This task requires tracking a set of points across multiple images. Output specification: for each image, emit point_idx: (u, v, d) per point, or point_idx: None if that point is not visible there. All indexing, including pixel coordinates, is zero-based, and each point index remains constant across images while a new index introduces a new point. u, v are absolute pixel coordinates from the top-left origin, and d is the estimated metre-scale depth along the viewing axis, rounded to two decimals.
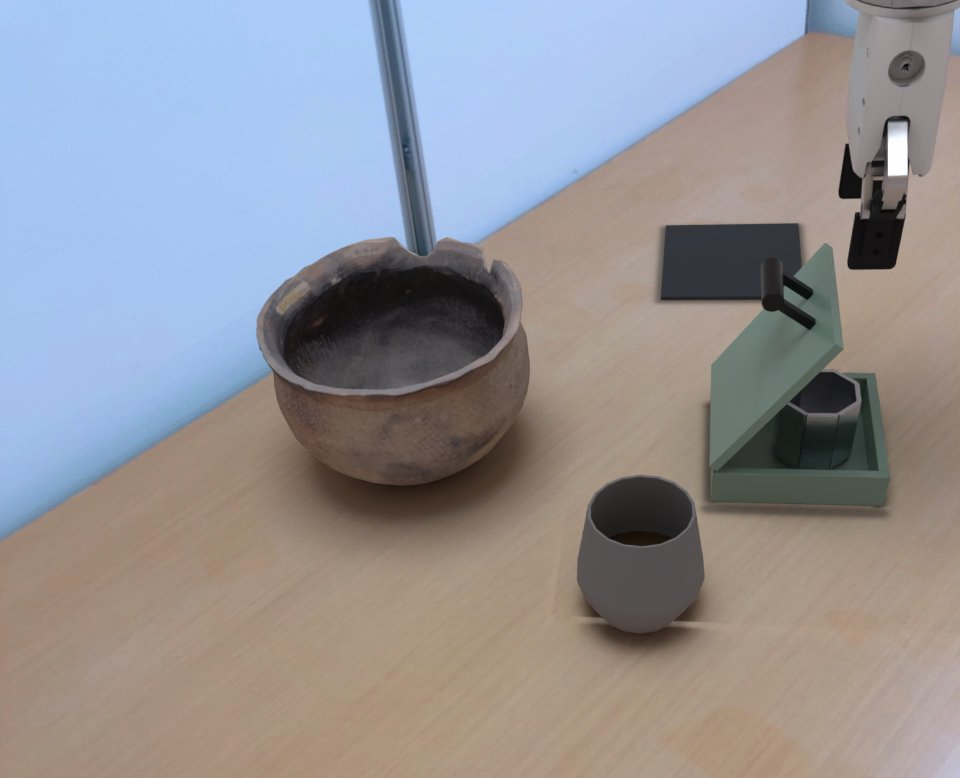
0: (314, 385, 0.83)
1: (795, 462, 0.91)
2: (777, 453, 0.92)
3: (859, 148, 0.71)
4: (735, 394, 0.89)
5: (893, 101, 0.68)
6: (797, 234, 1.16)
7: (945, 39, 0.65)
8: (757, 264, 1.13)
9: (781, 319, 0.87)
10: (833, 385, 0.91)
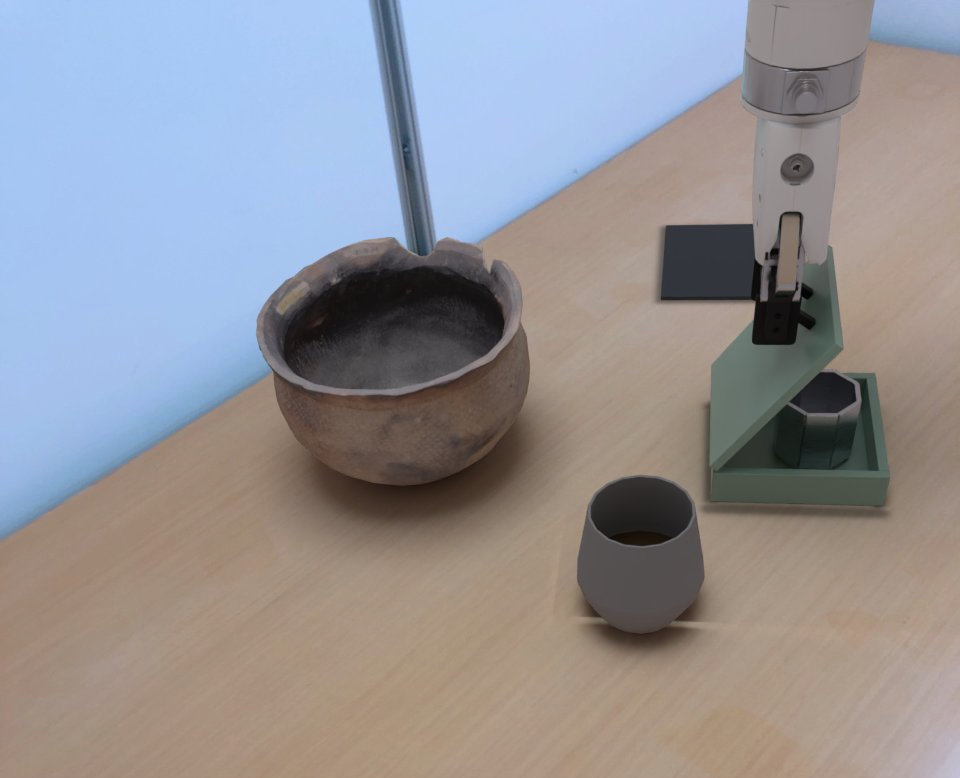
0: (314, 385, 0.83)
1: (795, 462, 0.91)
2: (777, 453, 0.92)
3: (758, 239, 0.75)
4: (735, 394, 0.89)
5: (786, 198, 0.72)
6: None
7: (832, 143, 0.69)
8: None
9: None
10: (833, 385, 0.91)
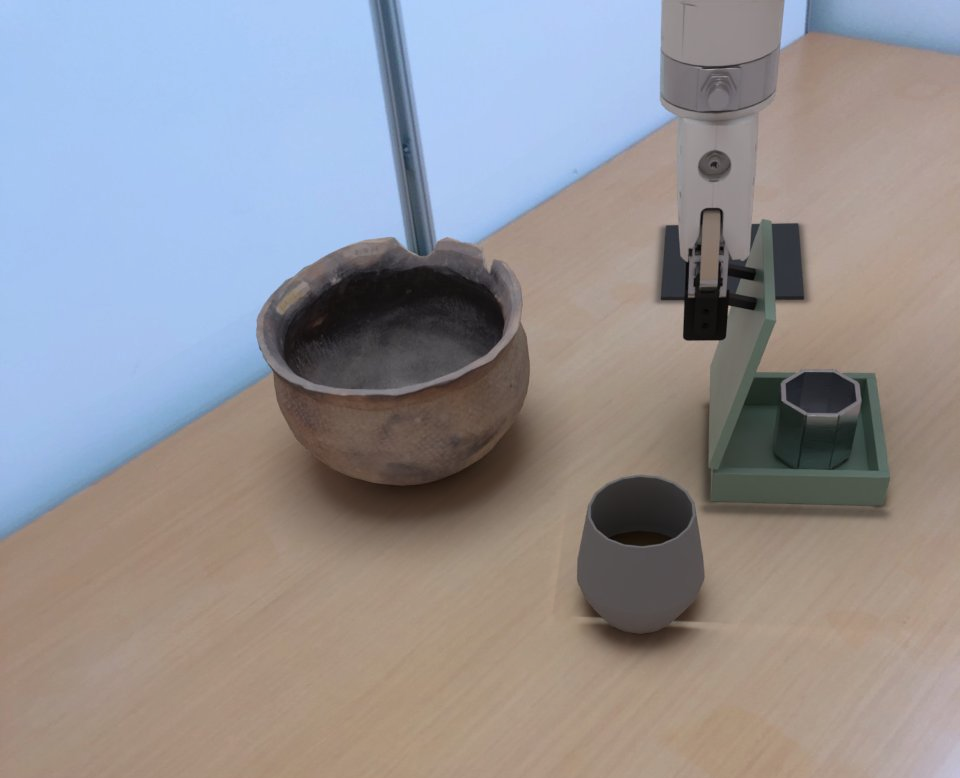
0: (314, 385, 0.83)
1: (795, 462, 0.91)
2: (777, 453, 0.92)
3: (681, 235, 0.75)
4: (720, 390, 0.89)
5: (705, 195, 0.73)
6: (797, 234, 1.16)
7: (748, 140, 0.70)
8: None
9: None
10: (833, 385, 0.91)
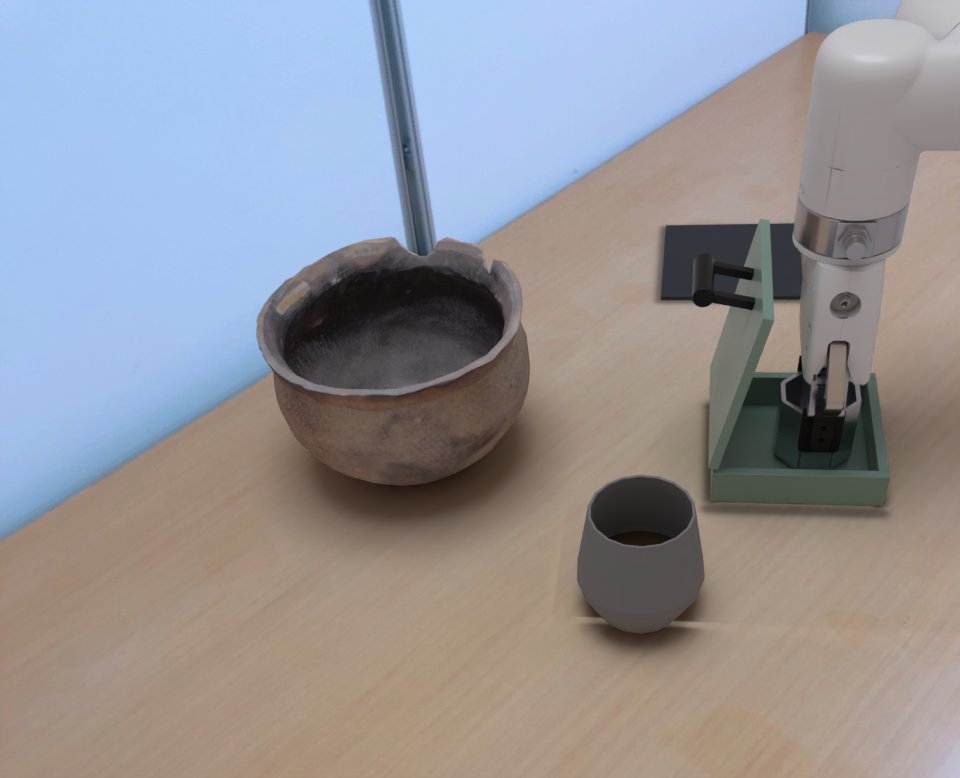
0: (314, 385, 0.83)
1: (795, 462, 0.91)
2: (777, 453, 0.92)
3: (807, 362, 0.81)
4: (720, 390, 0.89)
5: (835, 329, 0.79)
6: None
7: (878, 284, 0.76)
8: None
9: None
10: None
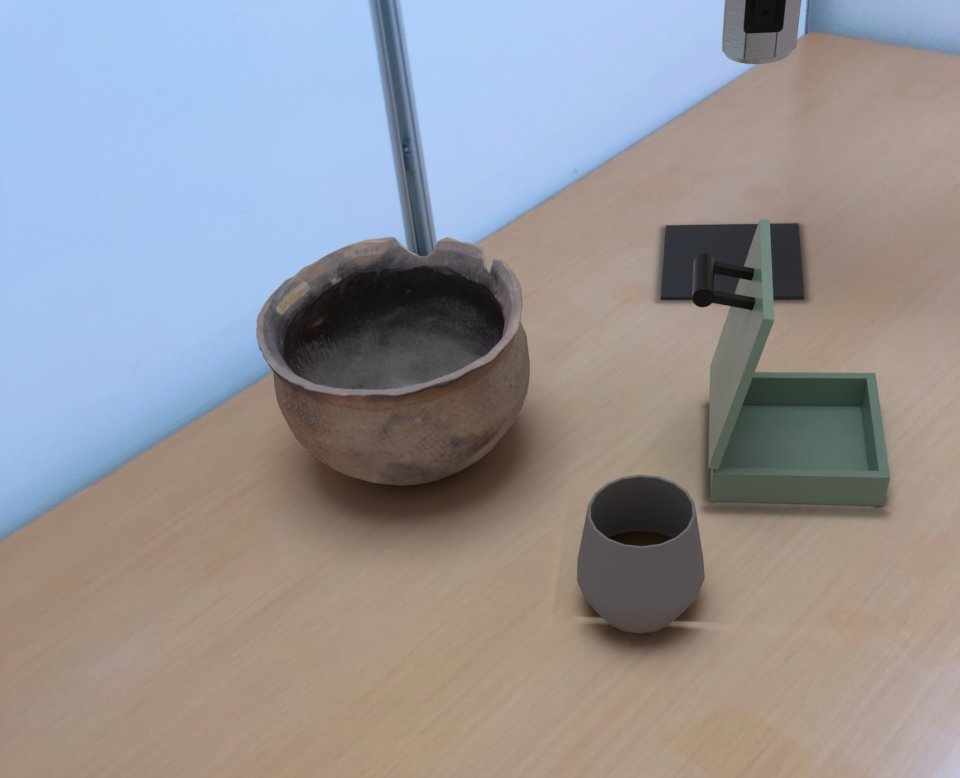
0: (314, 385, 0.83)
1: (741, 53, 0.93)
2: (724, 49, 0.95)
3: None
4: (720, 390, 0.89)
5: None
6: (797, 234, 1.16)
7: None
8: None
9: None
10: None
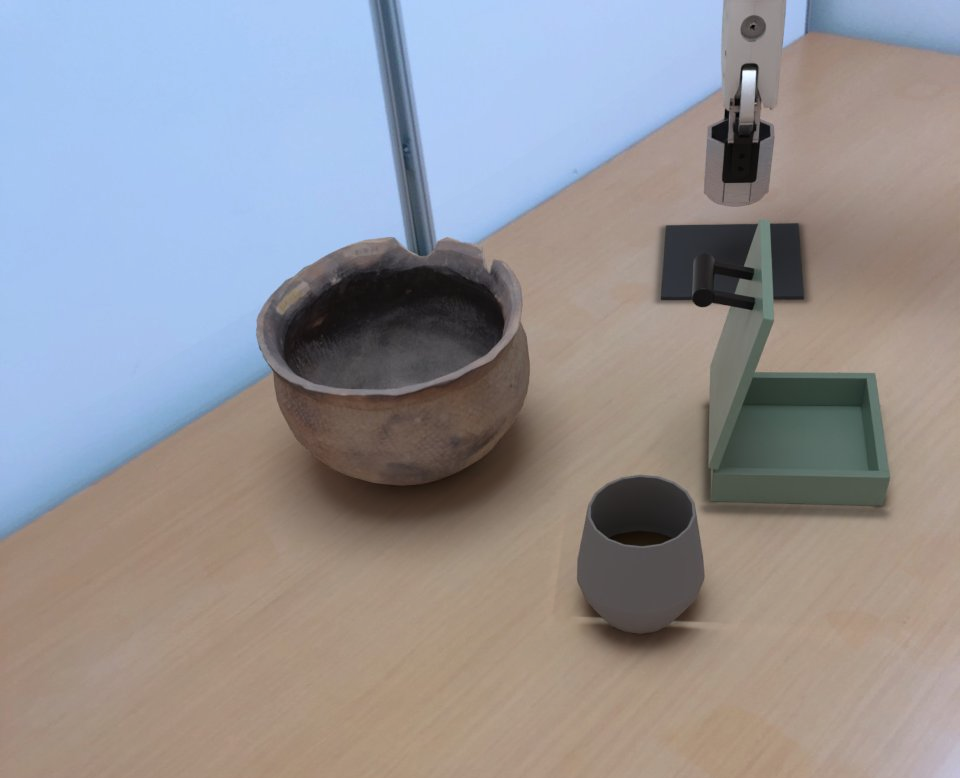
0: (314, 385, 0.83)
1: (720, 197, 1.07)
2: (706, 192, 1.08)
3: (724, 88, 0.97)
4: (720, 390, 0.89)
5: (745, 52, 0.94)
6: (797, 234, 1.16)
7: (779, 7, 0.92)
8: None
9: None
10: None
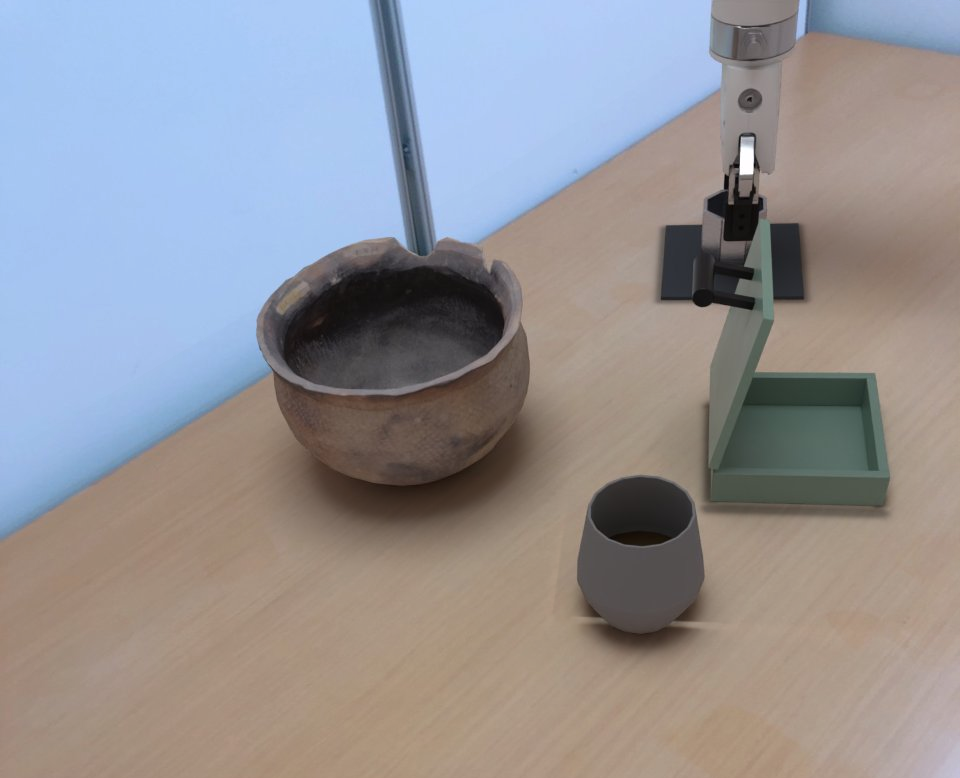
0: (314, 385, 0.83)
1: None
2: None
3: (723, 155, 1.01)
4: (720, 390, 0.89)
5: (743, 122, 0.99)
6: (797, 234, 1.16)
7: (774, 81, 0.96)
8: None
9: None
10: None
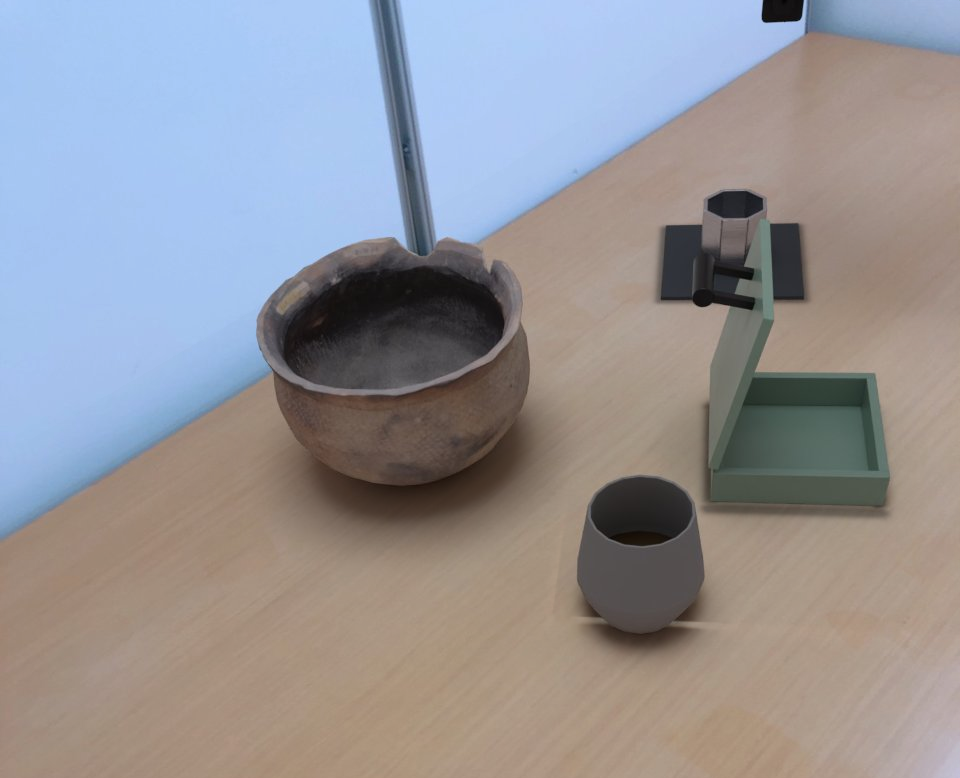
0: (314, 385, 0.83)
1: None
2: None
3: None
4: (720, 390, 0.89)
5: None
6: (797, 234, 1.16)
7: None
8: None
9: None
10: (747, 203, 1.12)
